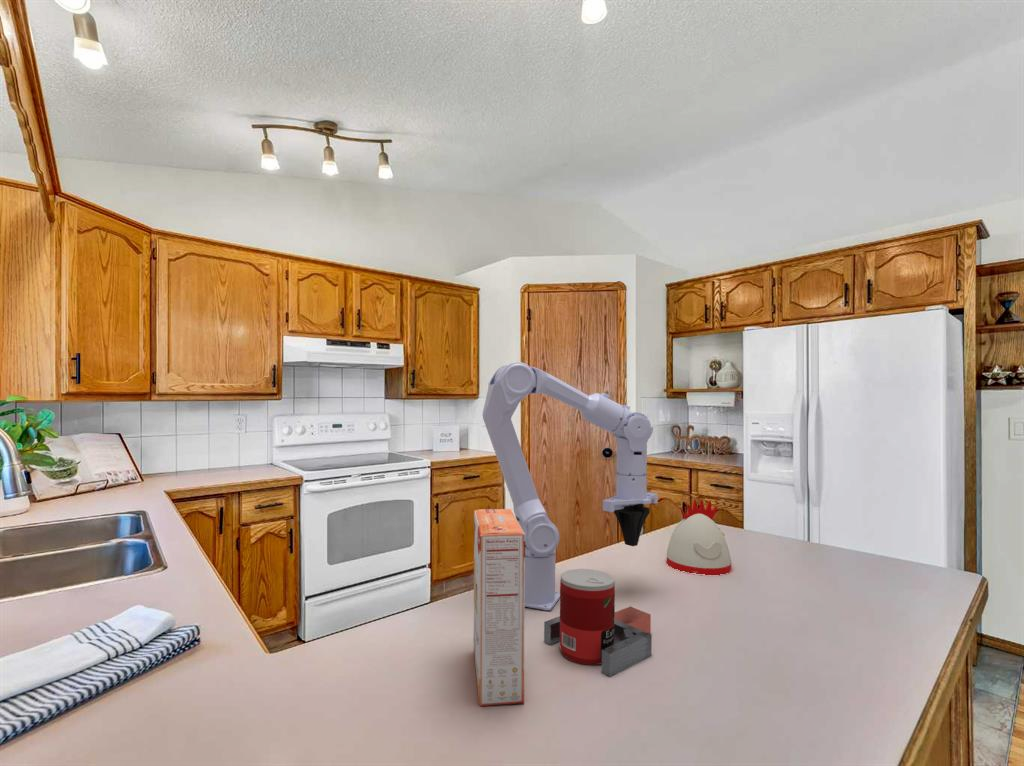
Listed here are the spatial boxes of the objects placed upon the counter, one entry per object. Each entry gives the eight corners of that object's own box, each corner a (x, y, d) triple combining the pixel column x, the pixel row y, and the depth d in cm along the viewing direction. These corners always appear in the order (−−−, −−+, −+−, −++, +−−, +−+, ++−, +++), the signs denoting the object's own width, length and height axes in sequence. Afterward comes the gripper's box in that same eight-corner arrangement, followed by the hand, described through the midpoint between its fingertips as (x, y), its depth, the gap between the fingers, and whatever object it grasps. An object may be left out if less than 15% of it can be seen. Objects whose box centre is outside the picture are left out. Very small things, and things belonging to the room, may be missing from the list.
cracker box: (470, 651, 75) (473, 507, 76) (511, 650, 76) (513, 507, 77) (475, 708, 62) (478, 532, 62) (525, 705, 62) (527, 531, 63)
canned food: (614, 669, 71) (614, 588, 72) (556, 662, 73) (557, 583, 73) (614, 643, 79) (615, 570, 79) (562, 638, 80) (563, 566, 81)
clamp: (609, 616, 89) (609, 598, 89) (674, 643, 79) (674, 623, 79) (544, 641, 79) (544, 621, 79) (609, 676, 69) (609, 654, 69)
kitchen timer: (741, 576, 110) (741, 506, 111) (677, 575, 110) (677, 505, 111) (716, 557, 124) (716, 494, 125) (659, 556, 124) (659, 493, 125)
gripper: (624, 479, 92) (624, 556, 92) (671, 473, 101) (670, 543, 101) (594, 475, 98) (593, 547, 97) (641, 469, 107) (640, 535, 106)
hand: (631, 544), depth 99 cm, fingers closed
